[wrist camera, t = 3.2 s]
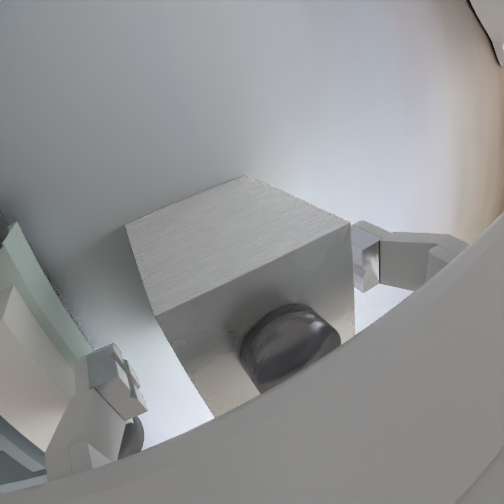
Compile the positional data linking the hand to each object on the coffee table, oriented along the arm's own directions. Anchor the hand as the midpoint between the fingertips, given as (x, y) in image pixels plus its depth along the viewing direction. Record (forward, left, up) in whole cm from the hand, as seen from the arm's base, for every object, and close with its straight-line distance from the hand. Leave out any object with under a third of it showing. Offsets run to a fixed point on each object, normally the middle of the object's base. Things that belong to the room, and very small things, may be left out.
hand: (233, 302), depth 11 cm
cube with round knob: (0, 0, -3) cm, 3 cm away
